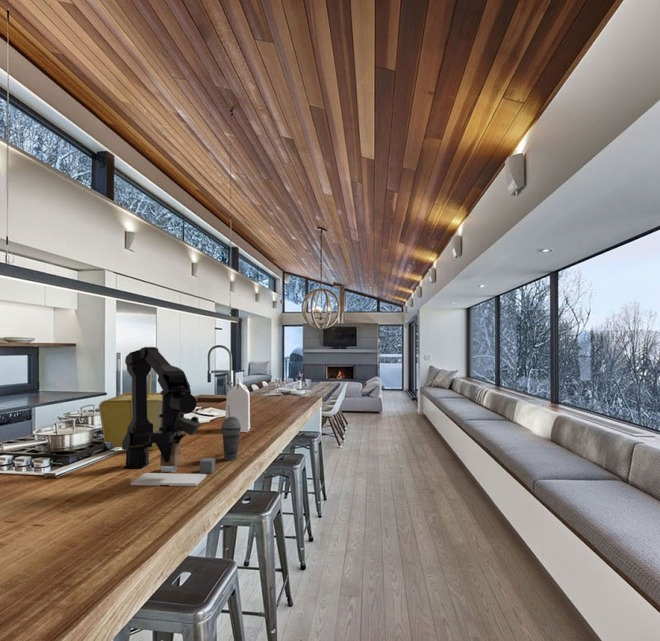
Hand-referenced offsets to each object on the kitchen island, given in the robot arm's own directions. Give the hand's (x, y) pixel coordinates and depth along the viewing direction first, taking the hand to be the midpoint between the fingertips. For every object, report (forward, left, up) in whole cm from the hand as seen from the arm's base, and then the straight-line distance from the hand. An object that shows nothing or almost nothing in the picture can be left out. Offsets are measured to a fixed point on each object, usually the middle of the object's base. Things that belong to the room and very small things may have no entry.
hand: (170, 460), depth 142 cm
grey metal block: (-4, +11, -6) cm, 13 cm away
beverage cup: (+12, +28, -6) cm, 31 cm away
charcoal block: (+9, +11, -6) cm, 15 cm away
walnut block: (0, 0, -1) cm, 1 cm away
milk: (+1, +85, -6) cm, 85 cm away
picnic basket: (-32, +50, -6) cm, 60 cm away
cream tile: (0, 0, -6) cm, 6 cm away
